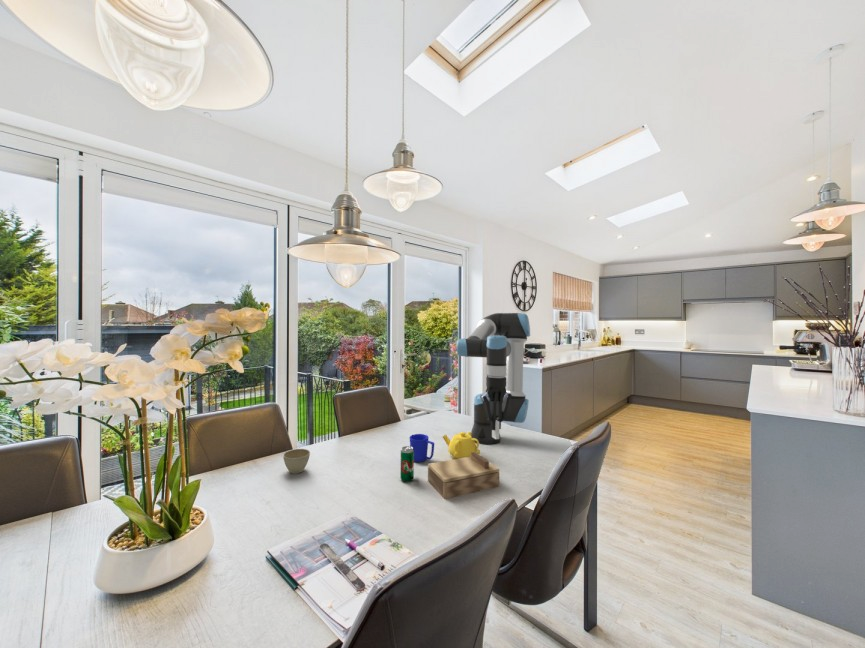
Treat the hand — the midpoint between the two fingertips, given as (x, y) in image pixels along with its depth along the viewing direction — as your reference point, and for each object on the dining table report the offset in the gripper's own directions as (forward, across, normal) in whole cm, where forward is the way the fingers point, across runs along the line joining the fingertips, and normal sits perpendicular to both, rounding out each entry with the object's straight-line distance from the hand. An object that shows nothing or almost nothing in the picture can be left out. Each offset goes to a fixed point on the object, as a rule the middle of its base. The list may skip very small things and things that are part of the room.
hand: (495, 437), depth 135 cm
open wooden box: (+16, +14, 0) cm, 21 cm away
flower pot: (+16, +69, -37) cm, 80 cm away
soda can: (+16, +31, -13) cm, 37 cm away
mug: (+16, +19, -27) cm, 37 cm away
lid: (+10, +14, 0) cm, 17 cm away
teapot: (+16, +1, -25) cm, 30 cm away
